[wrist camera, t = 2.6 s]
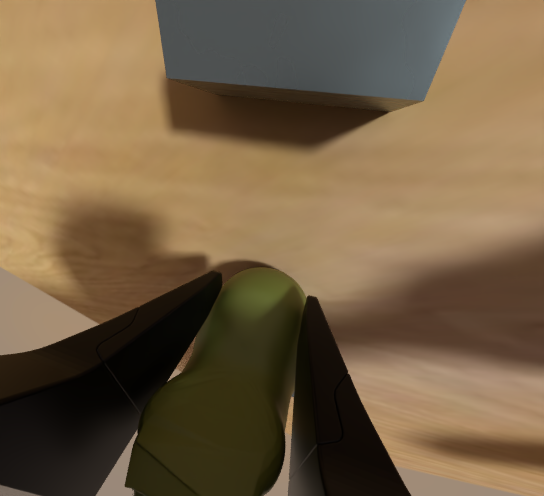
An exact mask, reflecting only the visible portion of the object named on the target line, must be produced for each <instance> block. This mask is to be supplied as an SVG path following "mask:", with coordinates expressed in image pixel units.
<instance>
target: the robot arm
mask: <svg viewBox="0 0 544 496" xmlns="http://www.w3.org/2000/svg"><path fill="white" fill-rule="evenodd" d="M221 289H222V274H221V273H220V272H217V271H211V272H209V273H207V274H205V275H203V276H201V277H199V278H197V279H195V280H193V281H190V282H188V283H186V284H184V285H182V286H180V287H178V288H176V289H174V290H172V291H170V292H168V293H166V294H164V295H162V296H160V297H158V298H156V299H153V300H151V301H149V302H147V303H145V304H143V305H141V306H140V307H137V308H135V309H133V310H131V311H129V312H127V313H124V314H122V315H120V316H118V317H116V318H114V319H111V320H109V321H107V322H104V323H102V324H100V325H98V326H95V327H93V328H90V329H88V330H85V331H83V332H80V333H78V334H76V335H74V336H71V337H68V338H66V339H63V340H61V341H59V342H56V343H54V344H51V345H48V346H46V347H43V348H40V349H36V350H32V351H28V352H23V353H17V354H8V355H0V496H96V494H97V492H98V491H99V489H100V488H101V486H102V485H103V483H104V481H105V480H106V478H107V477H108V475H109V473H110V472H111V470H112V469H113V467H114V465H115V464H116V462H117V460H118V459H119V457H120V456H121V454H122V453H123V451H124V449H125V448H126V446H127V445H128V443H129V442H130V440H131V438H132V437H133V435H134V434H135V432H136V430H137V429H138V423H139V419H140V416H141V413H142V411H143V409H144V407H145V405H146V404H147V402H148V401H149V399H150V398H151V397H152V395H153V394H154V393H155V392H156V391H157V390H158V389H159V388H160V387H161V386H162V385H164V384H165V383H166V382H167V381H168V379H169V378H170V376H171V374H172V373H173V371H174V370H175V368H176V367H177V365H178V363H179V362H180V360H181V359H182V357H183V356H184V354H185V352H186V351H187V349H188V348H189V346H190V344H191V343H192V341H193V340H194V338H195V336H196V335H197V333H198V332H199V330H200V328H201V327H202V325H203V324H204V322H205V321H206V319H207V317H208V315H209V313H210V311H211V309H212V307H213V305H214V303H215V301H216V299H217V297H218V295H219V293H220V291H221ZM347 373H348V370H347V368H346V365H345V363H344V361H343V358H342V356H341V354H340V351H339V349H338V347H337V344H336V342H335V339H334V337H333V335H332V332H331V330H330V328H329V325H328V323H327V320H326V318H325V316H324V313H323V311H322V309H321V306H320V304H319V301H318V299H317V298H316V297H313V296H310V295H309V296H307V299H306V303H305V306H304V310H303V315H302V321H301V326H300V332H299V337H298V343H297V357H296V373H295V390H294V406H293V422H292V439H291V456H290V472H289V480H290V481H289V487H288V496H411V494H410V493H409V491H408V489H407V488H406V486H405V484H404V482H403V481H402V479H401V477H400V475H399V473H398V471H397V469H396V467H395V465H394V464H393V462H392V460H391V458H390V456H389V454H388V452H387V450H386V448H385V447H384V445H383V443H382V441H381V439H380V437H379V435H378V433H377V431H376V430H375V428H374V426H373V424H372V422H371V420H370V418H369V416H368V414H367V412H366V410H365V408H364V406H363V404H362V402H361V400H360V398H359V395H358V393H357V391H356V389H355V387H354V384H353V382H352V380H351V377H350V375H349V374H347Z"/></svg>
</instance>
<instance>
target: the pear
mask: <svg viewBox="0 0 544 496" xmlns="http://www.w3.org/2000/svg"><path fill="white" fill-rule="evenodd" d="M305 303H306V296H305V294H304V292H303V290H302V289H301V287H300V286H299V285H298V283H297V282H296V281H295V280H294V279H292V278H291V277H290V276H288V275H287V274H285V273H283V272H281V271H279V270H276V269H273V268H267V267H256V268H250V269H246V270H243V271H241V272H239V273H237V274H236V275H234V276H233V277H231V278H230V279H229V280H228V281H227V282H226V283H225V284H224V285H223V286H222V289H221V291H220V293H219V295H218V297H217V299H216V301H215V303H214V305H213V307H212V309H211V311H210V313H209V315H208V317H207V319H206V321H205V322H204V324H203V325H202V327H201V328H200V330H199V332H198V333H197V336H196V339H195V343H194V348H193V353H192V355H191V357H190V359H189V361H188V363H187V364H186V366H185V368H184V369H183V371H182V373H180V374H179V375H177V376H175V377H174V378H172V379H171V380H169V381H168V382H166V383H165V384H164V385H162V386H161V387H160V388H159V389H158V390H157V391H156V392H155V393H154V394H153V395H152V397H151V398H150V399H149V401H148V402H147V404H146V405H145V407H144V409H143V411H142V413H141V416H140V419H139V423H138V435H137V437H136V439H135V442H134V444H133V448H132V453H131V458H130V462H129V467H128V472H127V477H126V482H125V487H127V488H132V489H133V490H134V496H264V495H265V494H266V493H267V492H269V491H270V490H271V488H272V487H273V486H274V484H275V482H276V481H277V479H278V477H279V474H280V472H281V469H282V466H283V462H284V456H285V427H286V421H287V415H288V409H289V403H290V399H291V396H292V394H293V393H294V390H295V373H296V357H297V343H298V337H299V332H300V326H301V321H302V315H303V310H304V306H305Z"/></svg>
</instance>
